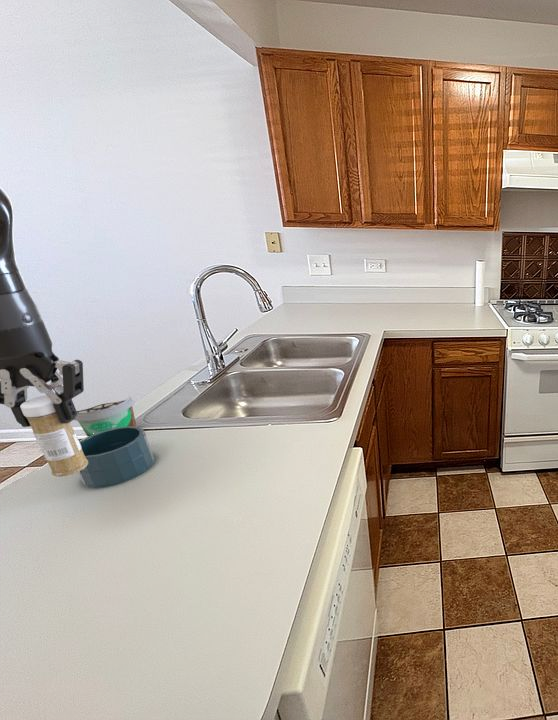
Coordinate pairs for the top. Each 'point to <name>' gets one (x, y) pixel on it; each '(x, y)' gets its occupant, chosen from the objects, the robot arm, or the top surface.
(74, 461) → the sprinkles bottle
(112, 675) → the top surface
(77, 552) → the top surface
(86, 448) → the pot
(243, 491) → the top surface
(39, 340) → the robot arm
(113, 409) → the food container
